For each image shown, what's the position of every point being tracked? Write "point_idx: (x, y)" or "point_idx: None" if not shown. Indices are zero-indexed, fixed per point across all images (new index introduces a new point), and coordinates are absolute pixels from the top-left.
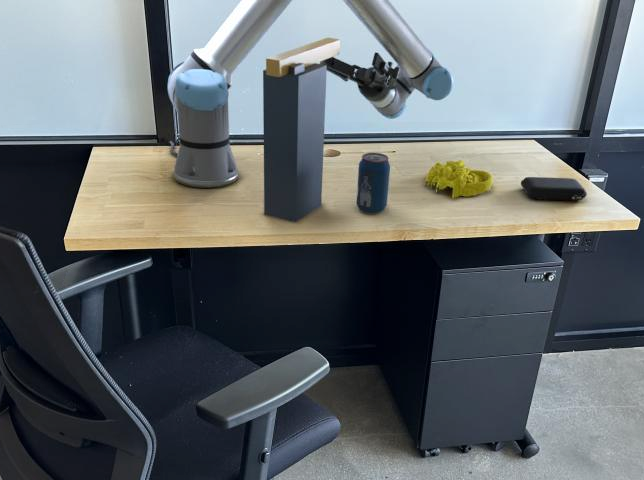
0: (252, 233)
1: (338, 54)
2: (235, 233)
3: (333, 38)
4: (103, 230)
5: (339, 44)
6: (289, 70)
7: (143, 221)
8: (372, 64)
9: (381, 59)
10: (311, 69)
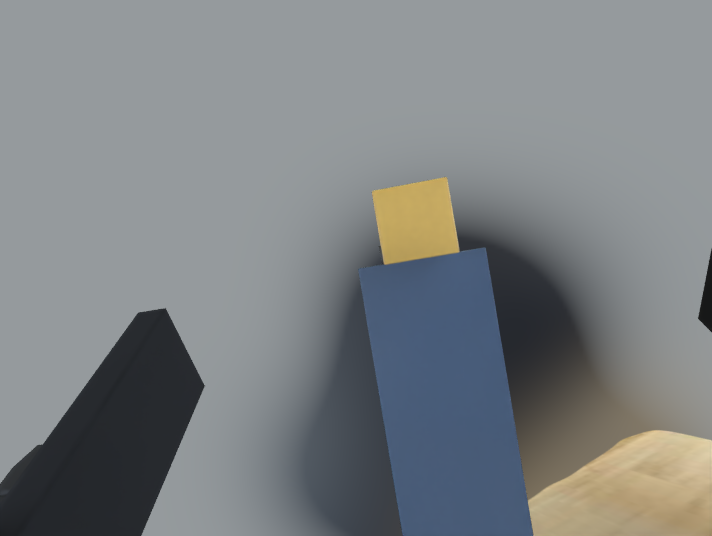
0: None
1: (384, 263)
2: None
3: (410, 184)
4: (663, 447)
5: (376, 215)
6: None
7: (662, 478)
8: (197, 384)
9: (84, 411)
10: (376, 265)
